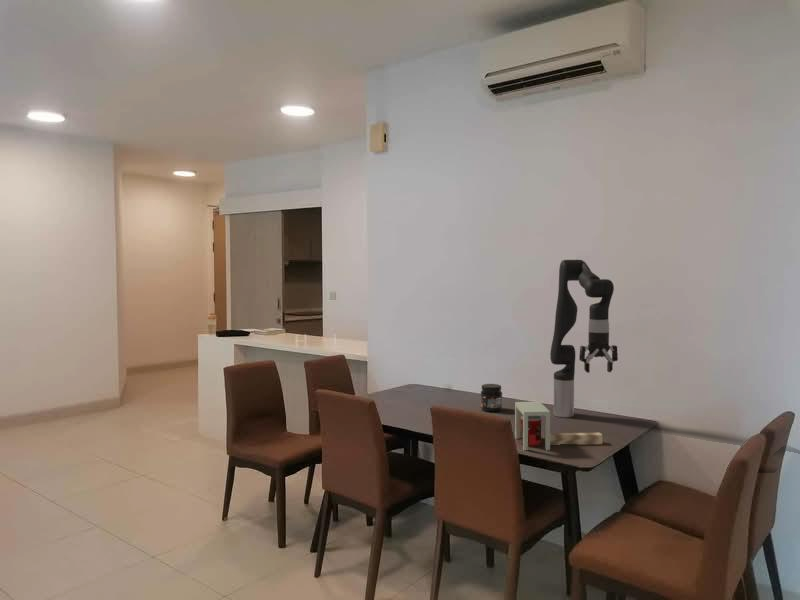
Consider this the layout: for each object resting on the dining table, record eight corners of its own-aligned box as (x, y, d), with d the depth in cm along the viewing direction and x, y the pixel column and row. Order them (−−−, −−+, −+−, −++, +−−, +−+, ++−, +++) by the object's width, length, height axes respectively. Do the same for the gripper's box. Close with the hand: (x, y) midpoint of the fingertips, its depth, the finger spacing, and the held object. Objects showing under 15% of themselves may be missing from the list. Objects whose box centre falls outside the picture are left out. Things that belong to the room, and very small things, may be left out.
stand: (515, 437, 238) (515, 401, 237) (539, 437, 238) (539, 401, 237) (523, 450, 222) (524, 412, 221) (549, 450, 222) (550, 411, 221)
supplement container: (482, 406, 290) (482, 382, 289) (503, 408, 287) (503, 384, 286) (478, 411, 280) (478, 387, 279) (500, 413, 277) (500, 388, 276)
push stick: (546, 445, 228) (546, 435, 228) (544, 443, 231) (544, 433, 231) (602, 444, 228) (602, 434, 228) (599, 442, 231) (599, 432, 231)
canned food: (518, 441, 233) (518, 414, 232) (537, 440, 234) (537, 413, 233) (523, 447, 225) (523, 419, 225) (543, 446, 226) (543, 418, 225)
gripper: (612, 329, 228) (612, 370, 229) (577, 330, 228) (576, 370, 229) (620, 331, 221) (620, 373, 222) (584, 332, 220) (583, 374, 221)
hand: (598, 372), depth 225 cm, fingers open, 8 cm apart
